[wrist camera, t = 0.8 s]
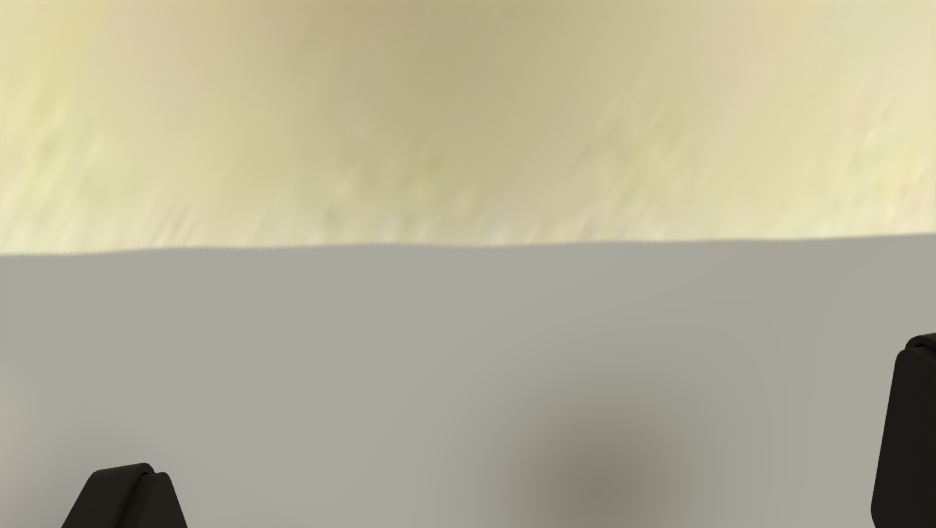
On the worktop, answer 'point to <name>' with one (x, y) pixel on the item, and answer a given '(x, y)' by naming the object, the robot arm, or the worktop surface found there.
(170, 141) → the worktop surface
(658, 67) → the worktop surface
